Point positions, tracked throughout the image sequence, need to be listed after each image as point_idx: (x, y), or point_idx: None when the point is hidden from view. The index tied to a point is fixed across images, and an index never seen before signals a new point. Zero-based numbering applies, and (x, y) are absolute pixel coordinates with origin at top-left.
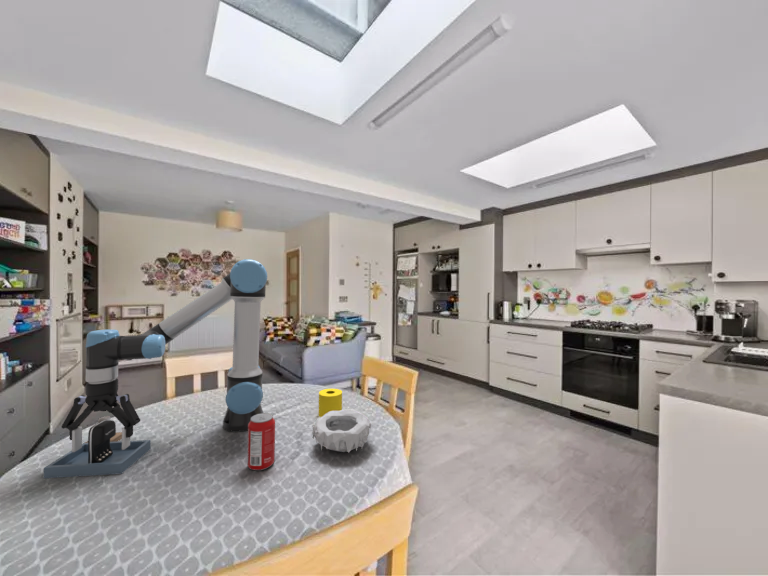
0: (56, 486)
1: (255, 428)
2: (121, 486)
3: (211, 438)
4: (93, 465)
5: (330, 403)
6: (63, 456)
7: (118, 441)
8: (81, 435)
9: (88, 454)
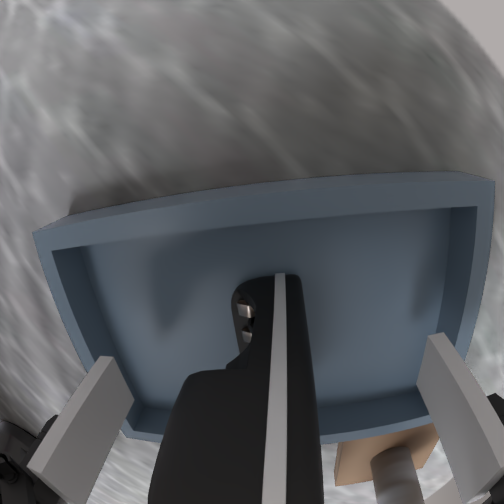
0: (320, 79)
1: None
2: (9, 127)
3: (30, 414)
4: (174, 205)
5: None
6: (472, 310)
7: None
8: (446, 447)
9: (300, 311)
